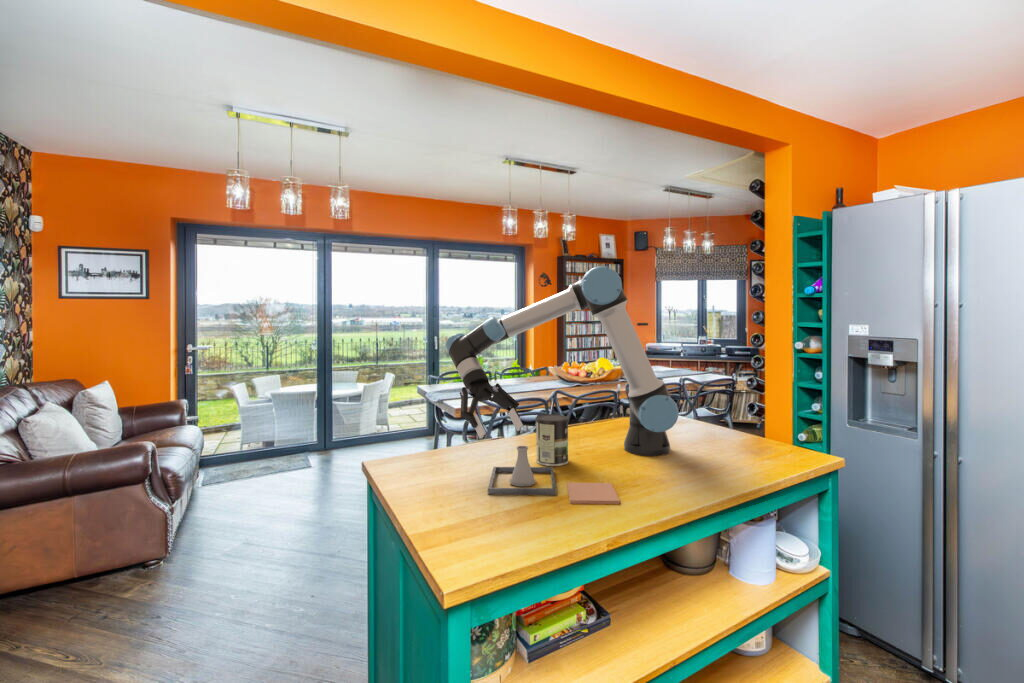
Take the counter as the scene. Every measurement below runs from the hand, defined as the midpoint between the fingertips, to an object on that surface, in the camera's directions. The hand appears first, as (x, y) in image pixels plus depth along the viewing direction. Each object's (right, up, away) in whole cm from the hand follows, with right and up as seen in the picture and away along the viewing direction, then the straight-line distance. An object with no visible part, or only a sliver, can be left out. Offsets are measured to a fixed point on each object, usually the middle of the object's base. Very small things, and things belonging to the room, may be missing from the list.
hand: (502, 432), depth 132 cm
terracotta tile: (+23, -13, -14) cm, 31 cm away
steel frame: (+6, -13, -6) cm, 15 cm away
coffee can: (+16, -12, +13) cm, 24 cm away
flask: (+6, -13, -6) cm, 15 cm away
